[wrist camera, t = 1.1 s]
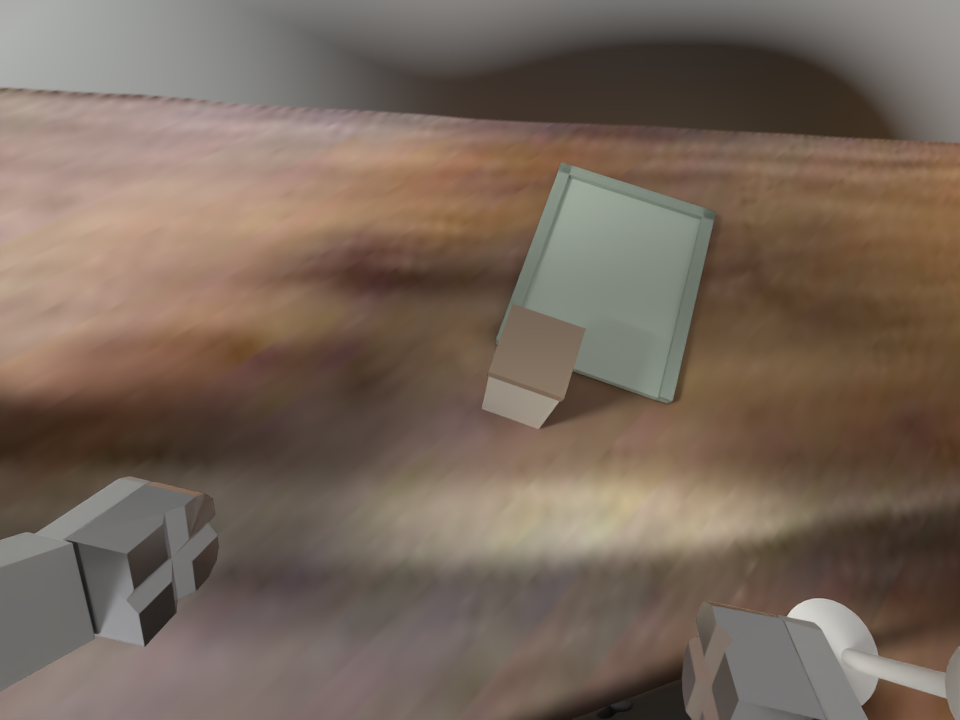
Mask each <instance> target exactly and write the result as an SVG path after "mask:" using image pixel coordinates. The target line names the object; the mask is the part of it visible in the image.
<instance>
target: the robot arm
mask: <svg viewBox="0 0 960 720" xmlns="http://www.w3.org/2000/svg"><path fill="white" fill-rule="evenodd" d="M214 515H215V510H214V504H213V498H211V497H210V496H208V495H206V494H204V493H200V492H196V491H192V490H188V489H184V488H180V487H175V486H171V485H167V484H163V483H159V482H152V481H148V480H144V479H140V478H136V477H132V476H129V477H124V478H119V479H117V480H116V481H114V482H113V483H111V484H110V485H108V486H107V487H105V488H103V489H102V490H100V491H99V492H97V493H96V494H94V495H93V496H91V497H90V498H88V499H87V500H85V501H84V502H82V503H81V504H79V505H78V506H76V507H75V508H73V509H72V510H70V511H69V512H67V513H65V514H64V515H62V516H61V517H59V518H58V519H56V520H55V521H53V522H52V523H50V524H49V525H47V526H46V527H44V528H43V529H41V530H40V531H38V532H37V533H35V534H34V533H29V532H24V533H21V534H18V535H14V536H11V537H8V538H5V539H1V540H0V691H2V690H4V689H6V688H7V687H9V686H11V685H13V684H14V683H16V682H18V681H20V680H22V679H23V678H25V677H27V676H29V675H31V674H32V673H34V672H36V671H38V670H40V669H41V668H43V667H45V666H47V665H49V664H50V663H52V662H54V661H56V660H58V659H59V658H61V657H63V656H65V655H66V654H68V653H70V652H72V651H74V650H75V649H77V648H79V647H81V646H83V645H84V644H86V643H88V642H90V641H92V640H93V639H95V635H96V636H100V637H105V638H109V639H113V640H118V641H122V642H126V643H131V644H135V645H139V646H144V647H145V646H146V645H147V644H148V643H149V642H150V640H151V639H152V638H153V637H154V636H155V635H156V634H157V633H158V632H159V631H160V630H161V629H162V628H163V626H164V625H165V624H166V623H167V622H168V621H169V620H170V619H171V618H172V617H173V616H174V615H175V614H176V612H177V602H178V599H181V598H183V597H185V596H187V595H189V594H191V593H194V592H196V591H197V590H198V588H199V587H200V586H201V585H202V584H203V583H204V582H205V581H206V579H207V578H208V577H209V575H210V573H211V571H212V569H213V567H214V565H215V563H216V560H217V554H218V548H219V545H218V535H217V534H216V533H215V531H214V530H213V528H212V527H211V526H210V524H209V522H210V520H211V519H212V518H213V517H214ZM696 624H697V628H698V633H699V636H697V637H696V638H694V639H692V640H691V641H689V642H688V645H687V648H686V652H685V655H684V659H683V670H682V690H683V699H684V705H685V711H686V712H687V714H688V715H689V716H690V718H691V719H692V720H868V718H867V716H866V714H865V712H864V711H863V709H862V707H861V705H860V703H859V701H858V699H857V697H856V695H855V693H854V691H853V689H852V687H851V685H850V683H849V681H848V680H847V678H846V676H845V674H844V672H843V670H842V668H841V666H840V664H839V662H838V660H837V658H836V656H835V654H834V652H833V650H832V649H831V647H830V645H829V643H828V641H827V639H826V637H825V635H824V633H823V631H822V629H821V628H820V627H819V626H818V625H817V624H815V623H814V622H810V621H805V620H800V619H795V618H790V617H785V616H779V615H776V616H774V615H772V614H767V613H762V612H757V611H752V610H748V609H743V608H738V607H733V606H728V605H723V604H718V603H714V602H709V601H705V602H704V603H703V604H702V605H701V607H700V609H699V612H698V614H697V617H696Z"/></svg>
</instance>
